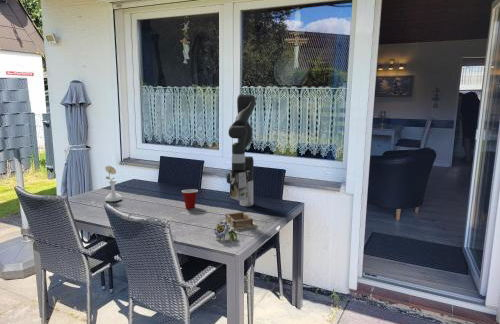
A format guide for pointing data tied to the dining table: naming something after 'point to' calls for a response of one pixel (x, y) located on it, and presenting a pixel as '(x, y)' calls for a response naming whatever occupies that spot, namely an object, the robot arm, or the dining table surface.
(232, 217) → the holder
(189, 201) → the plastic cup
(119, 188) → the dining table surface
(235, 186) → the coffee box
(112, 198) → the flower in vase
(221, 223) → the passion flower
